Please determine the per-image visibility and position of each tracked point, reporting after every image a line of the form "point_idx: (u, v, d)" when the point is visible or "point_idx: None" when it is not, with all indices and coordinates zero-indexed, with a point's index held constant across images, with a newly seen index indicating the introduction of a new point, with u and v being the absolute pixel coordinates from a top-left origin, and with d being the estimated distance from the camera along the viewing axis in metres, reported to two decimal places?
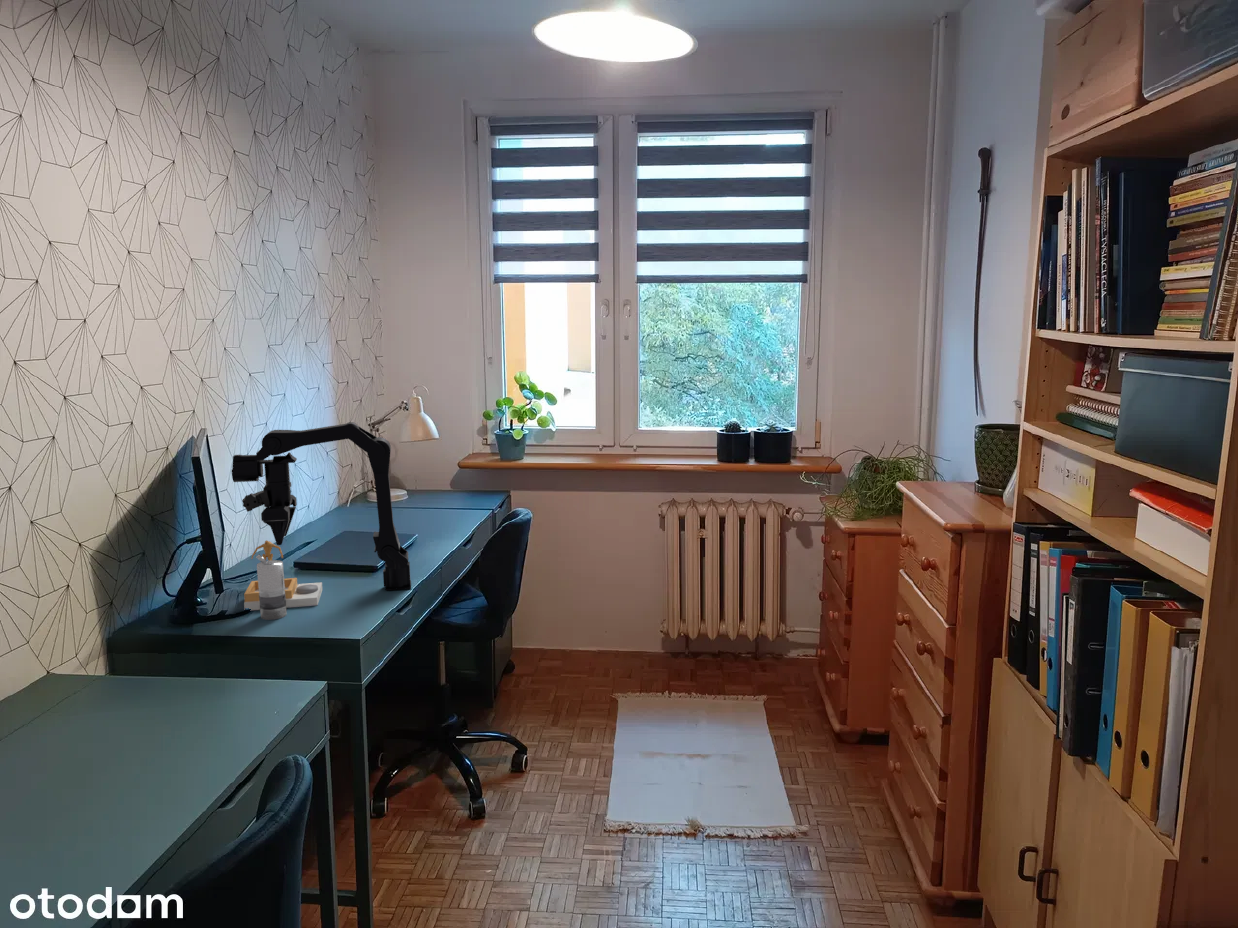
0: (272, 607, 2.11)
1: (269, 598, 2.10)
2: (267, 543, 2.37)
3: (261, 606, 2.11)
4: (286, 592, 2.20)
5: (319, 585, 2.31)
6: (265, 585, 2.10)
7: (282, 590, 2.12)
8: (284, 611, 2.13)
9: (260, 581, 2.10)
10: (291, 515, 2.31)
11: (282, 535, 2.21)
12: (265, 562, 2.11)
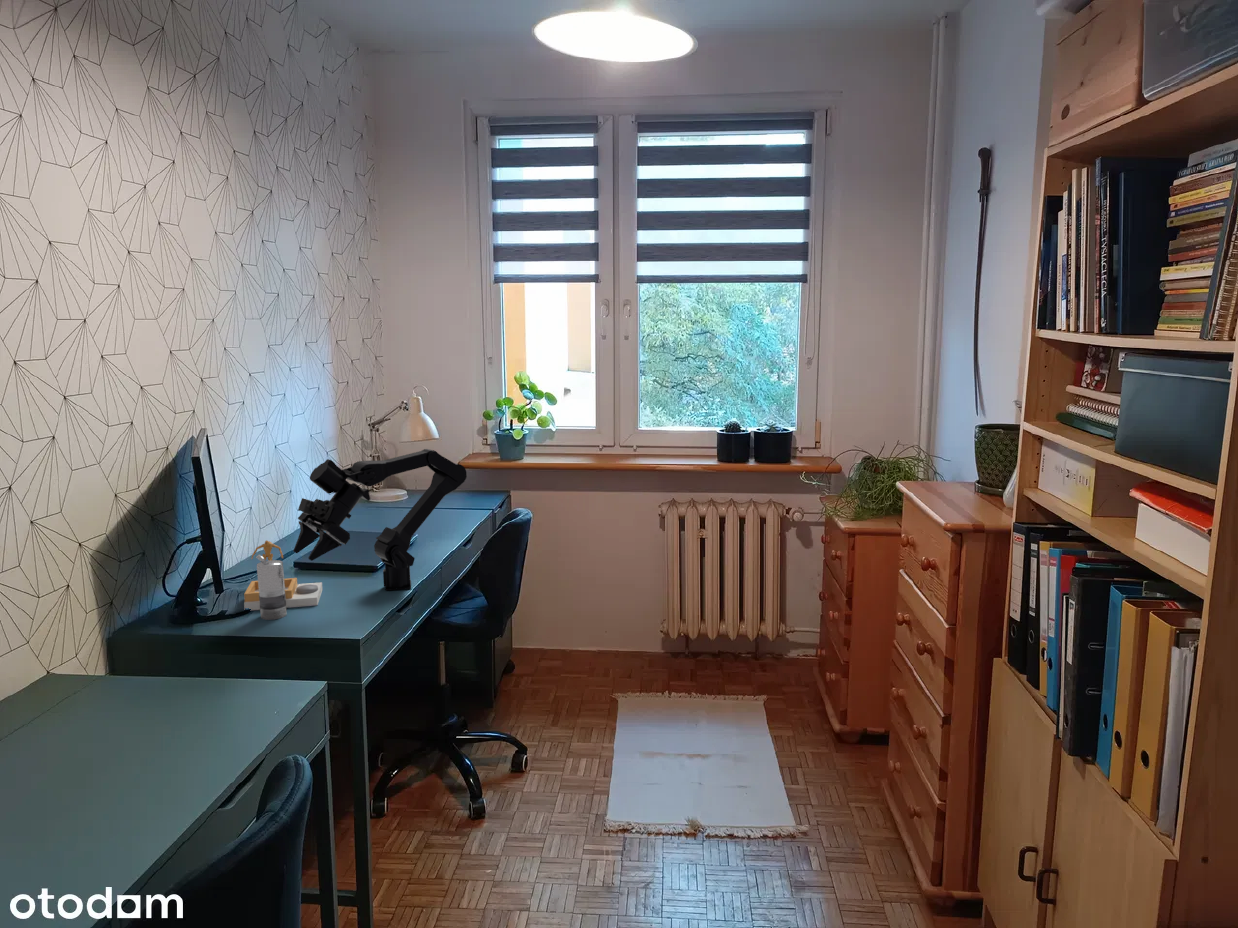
0: (272, 607, 2.11)
1: (269, 598, 2.10)
2: (267, 543, 2.37)
3: (261, 606, 2.11)
4: (286, 592, 2.20)
5: (319, 585, 2.31)
6: (265, 585, 2.10)
7: (282, 590, 2.12)
8: (284, 611, 2.13)
9: (260, 581, 2.10)
10: (314, 539, 2.24)
11: (321, 553, 2.14)
12: (265, 562, 2.11)
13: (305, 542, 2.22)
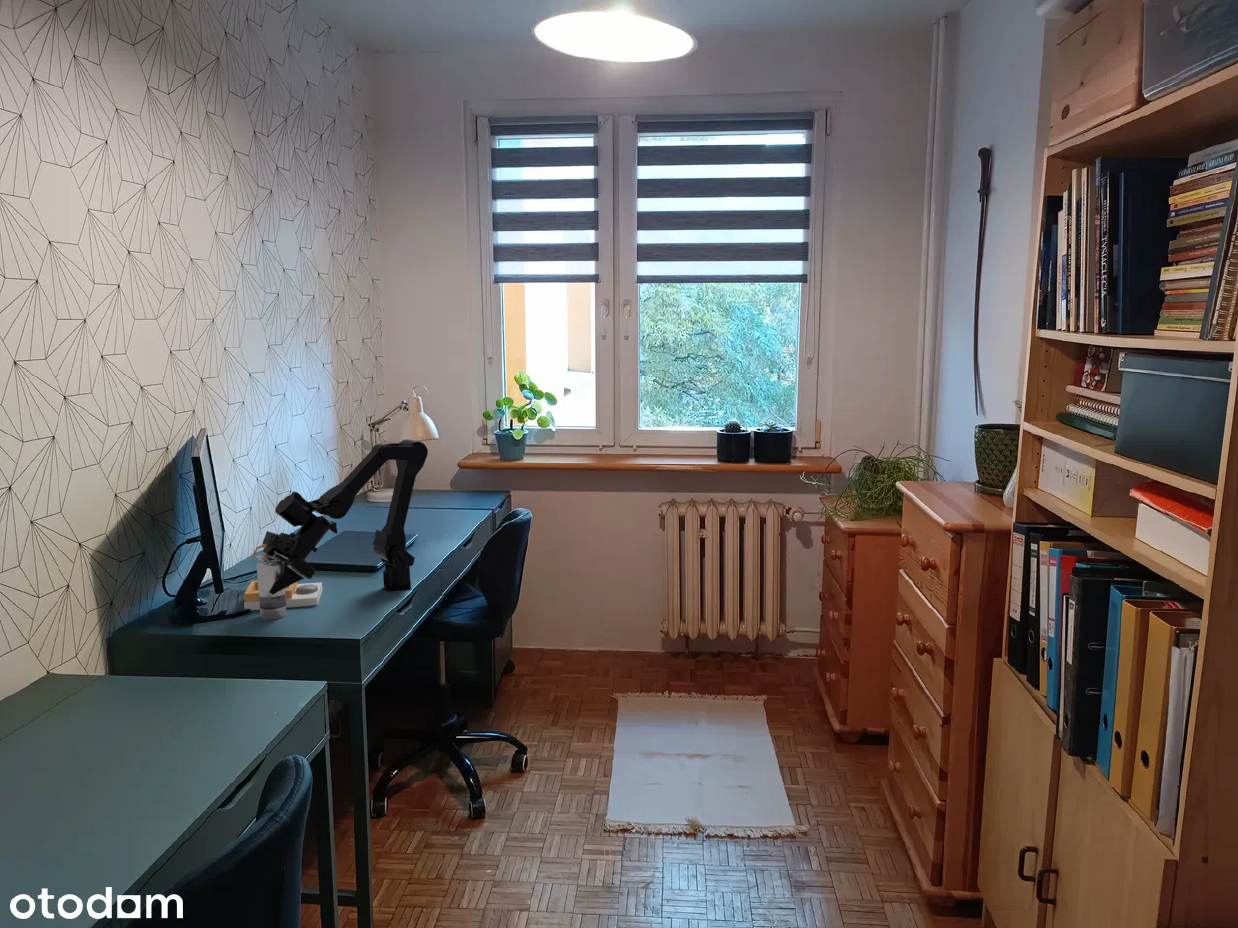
0: (272, 607, 2.11)
1: (269, 598, 2.10)
2: None
3: (261, 606, 2.11)
4: (286, 592, 2.20)
5: (319, 585, 2.31)
6: (265, 585, 2.10)
7: (282, 590, 2.12)
8: (284, 611, 2.13)
9: (260, 581, 2.10)
10: None
11: (282, 587, 2.10)
12: (265, 562, 2.11)
13: None
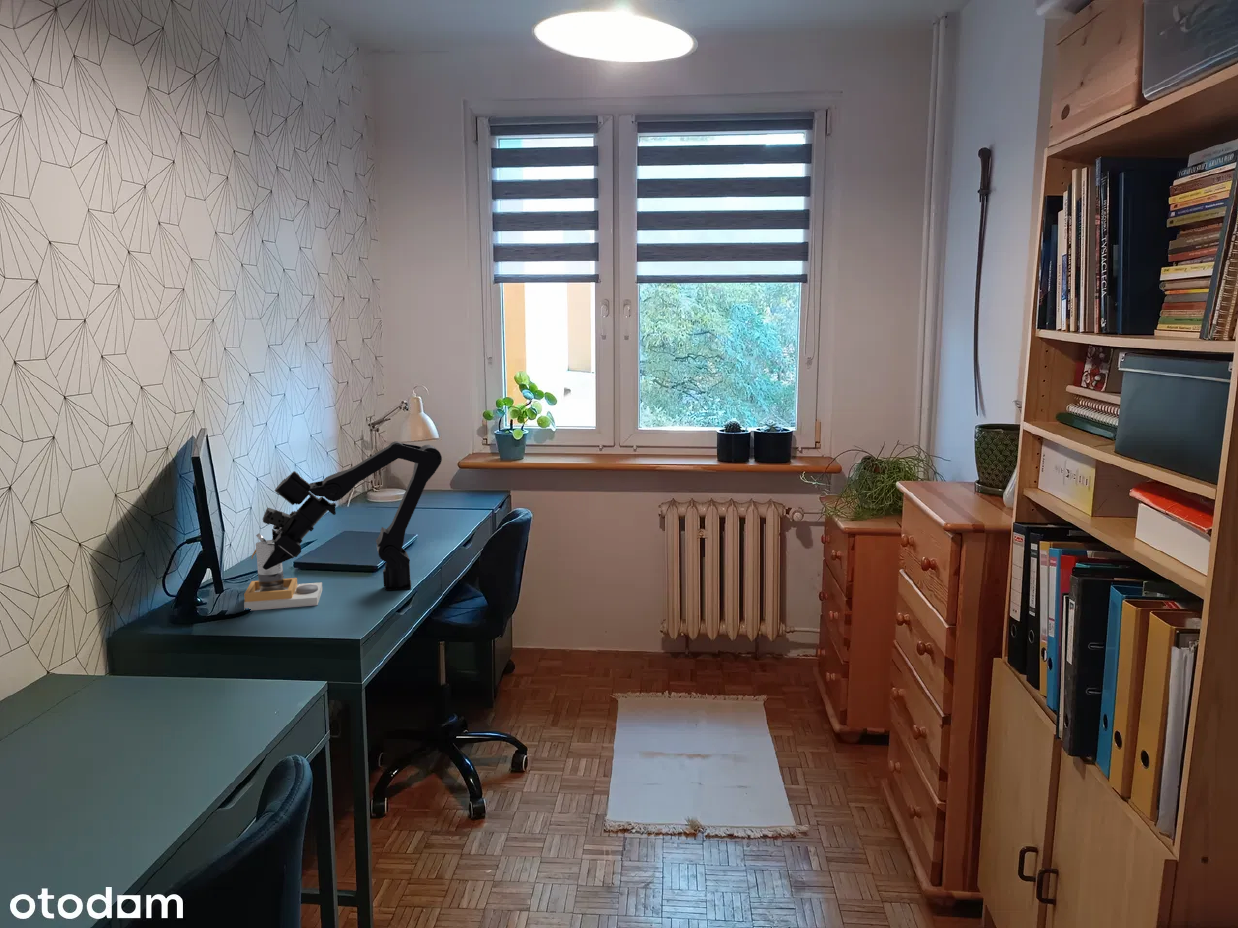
0: (266, 584, 2.21)
1: (264, 576, 2.21)
2: None
3: None
4: (286, 592, 2.20)
5: (319, 585, 2.31)
6: (260, 563, 2.21)
7: (276, 569, 2.22)
8: (279, 589, 2.23)
9: (257, 558, 2.21)
10: None
11: (275, 564, 2.18)
12: (263, 541, 2.22)
13: None
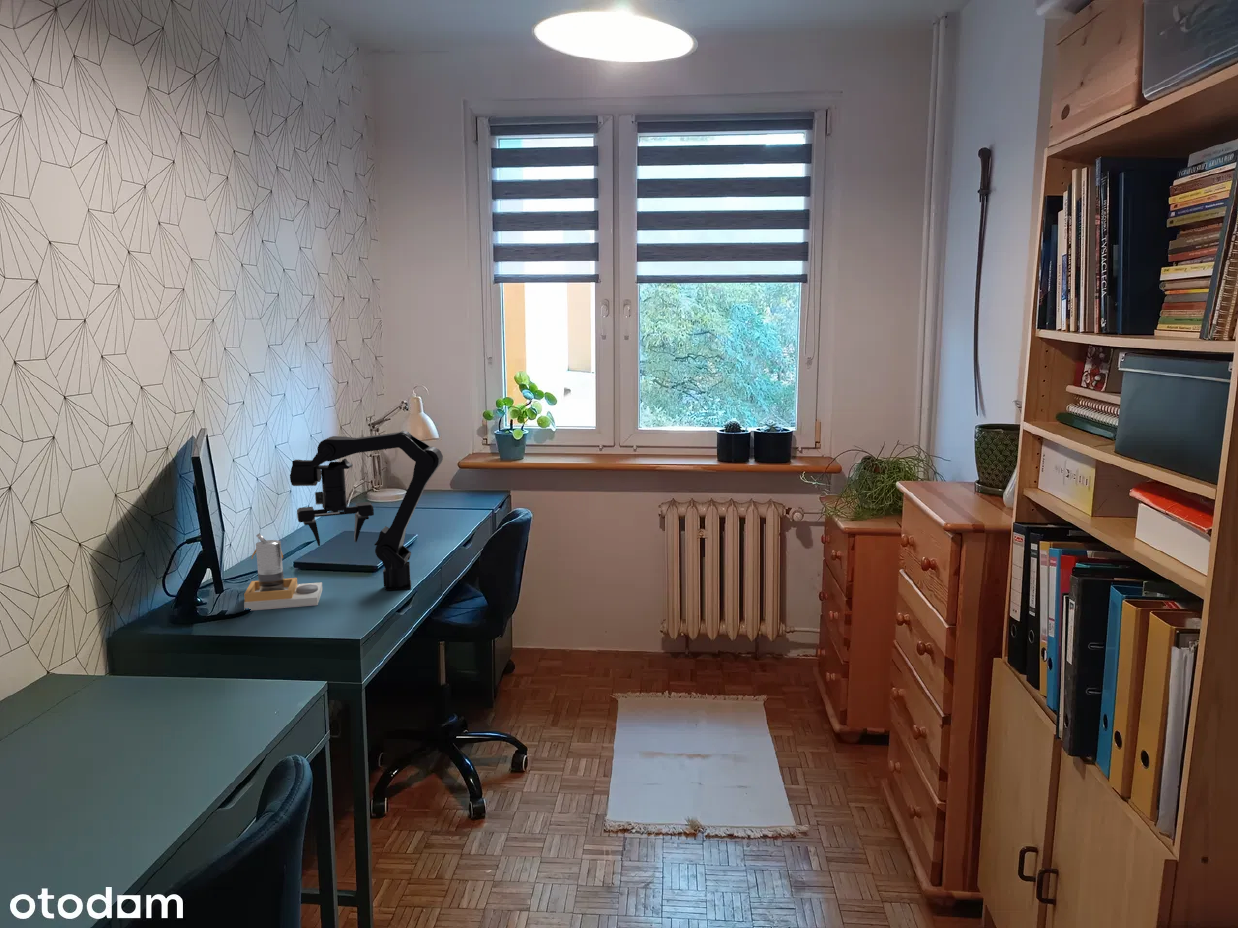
0: (266, 584, 2.21)
1: (264, 576, 2.21)
2: None
3: None
4: (286, 592, 2.20)
5: (319, 585, 2.31)
6: (260, 563, 2.21)
7: (277, 570, 2.22)
8: (279, 589, 2.23)
9: (257, 558, 2.21)
10: (356, 523, 2.32)
11: None
12: (263, 541, 2.22)
13: (356, 529, 2.34)
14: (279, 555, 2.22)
